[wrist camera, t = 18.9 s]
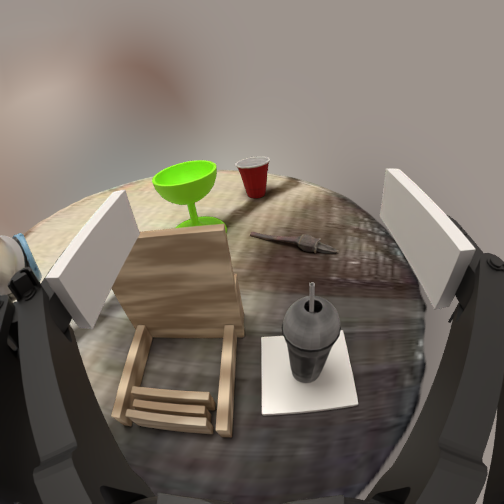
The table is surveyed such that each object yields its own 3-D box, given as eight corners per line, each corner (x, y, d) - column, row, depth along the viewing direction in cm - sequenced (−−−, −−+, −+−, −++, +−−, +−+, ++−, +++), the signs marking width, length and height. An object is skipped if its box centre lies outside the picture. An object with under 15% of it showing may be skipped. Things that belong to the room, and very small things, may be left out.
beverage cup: (335, 358, 40) (357, 262, 28) (319, 397, 36) (341, 312, 23) (293, 345, 44) (295, 248, 31) (274, 381, 39) (267, 291, 27)
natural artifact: (335, 262, 62) (334, 257, 59) (250, 237, 72) (244, 231, 68) (340, 246, 63) (339, 240, 59) (255, 224, 73) (250, 217, 69)
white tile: (357, 405, 34) (358, 403, 34) (262, 415, 35) (262, 414, 35) (342, 332, 45) (342, 330, 45) (261, 339, 46) (261, 337, 46)
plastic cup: (252, 185, 96) (248, 153, 89) (278, 191, 91) (276, 157, 83) (232, 198, 90) (227, 163, 82) (260, 204, 84) (256, 168, 77)
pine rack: (240, 437, 32) (202, 367, 19) (117, 423, 34) (27, 346, 20) (245, 313, 51) (227, 208, 38) (147, 315, 53) (104, 222, 39)
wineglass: (239, 231, 73) (229, 167, 63) (187, 260, 66) (168, 192, 55) (206, 212, 84) (195, 157, 73) (160, 235, 76) (143, 177, 65)
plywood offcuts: (213, 434, 33) (205, 425, 30) (138, 425, 34) (125, 415, 31) (215, 403, 37) (208, 392, 34) (144, 397, 38) (132, 386, 35)
